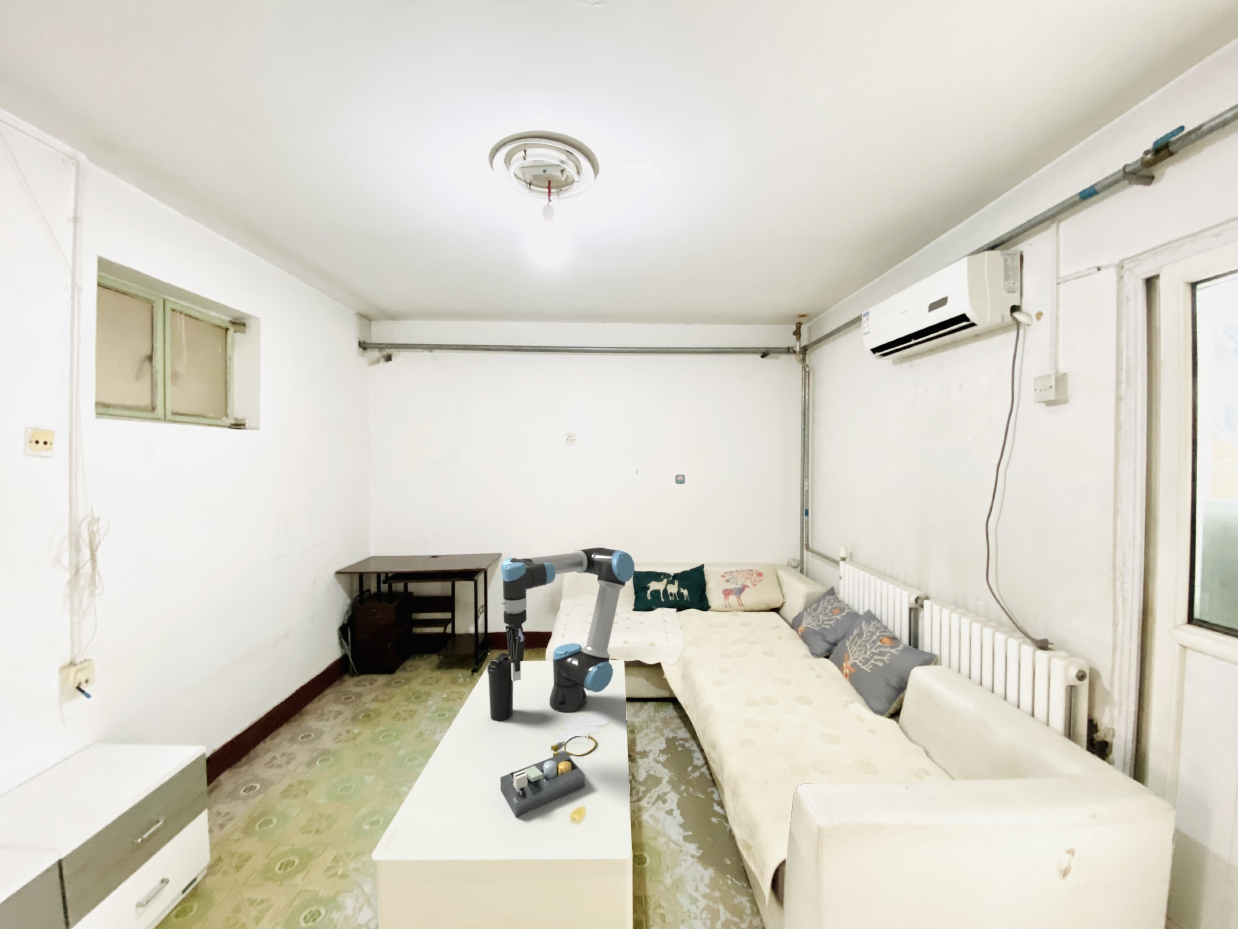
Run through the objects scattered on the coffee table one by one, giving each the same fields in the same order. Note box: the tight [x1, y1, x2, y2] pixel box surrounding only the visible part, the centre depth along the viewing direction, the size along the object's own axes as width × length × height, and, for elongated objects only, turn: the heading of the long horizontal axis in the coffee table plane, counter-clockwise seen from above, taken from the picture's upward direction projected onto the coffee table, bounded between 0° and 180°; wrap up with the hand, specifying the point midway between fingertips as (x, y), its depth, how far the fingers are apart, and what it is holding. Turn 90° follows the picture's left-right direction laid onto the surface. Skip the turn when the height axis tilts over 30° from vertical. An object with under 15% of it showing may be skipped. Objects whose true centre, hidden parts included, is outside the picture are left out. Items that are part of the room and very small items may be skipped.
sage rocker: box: [524, 766, 543, 782], centre depth 144 cm, size 4×7×1 cm, turn 32°
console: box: [499, 752, 586, 818], centre depth 145 cm, size 22×13×5 cm, turn 122°
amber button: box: [558, 761, 571, 776], centre depth 149 cm, size 4×4×4 cm
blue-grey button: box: [543, 761, 557, 781], centre depth 147 cm, size 4×4×4 cm
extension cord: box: [550, 734, 597, 757], centre depth 166 cm, size 12×16×2 cm
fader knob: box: [513, 770, 527, 790], centre depth 139 cm, size 3×2×3 cm
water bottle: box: [486, 652, 514, 722], centre depth 186 cm, size 10×10×23 cm
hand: (516, 679), depth 160 cm, fingers closed
